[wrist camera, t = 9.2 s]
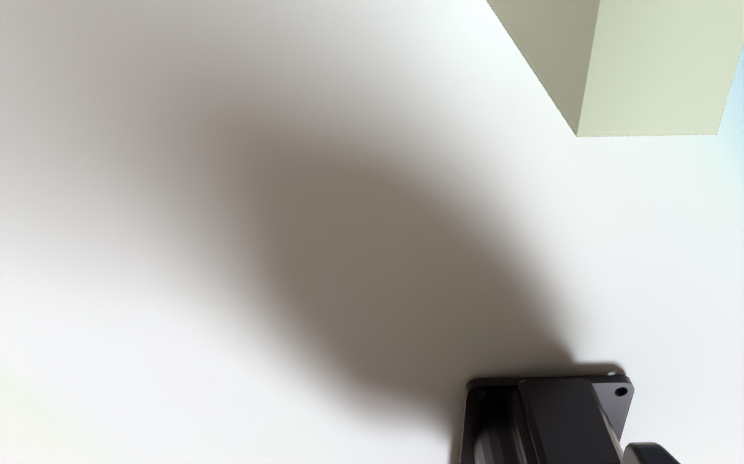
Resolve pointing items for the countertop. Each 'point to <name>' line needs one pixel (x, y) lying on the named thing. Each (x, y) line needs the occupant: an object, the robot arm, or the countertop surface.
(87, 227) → the countertop surface
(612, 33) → the green block
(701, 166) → the countertop surface
